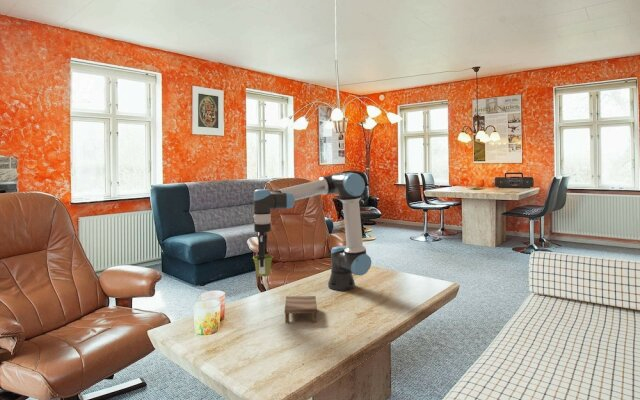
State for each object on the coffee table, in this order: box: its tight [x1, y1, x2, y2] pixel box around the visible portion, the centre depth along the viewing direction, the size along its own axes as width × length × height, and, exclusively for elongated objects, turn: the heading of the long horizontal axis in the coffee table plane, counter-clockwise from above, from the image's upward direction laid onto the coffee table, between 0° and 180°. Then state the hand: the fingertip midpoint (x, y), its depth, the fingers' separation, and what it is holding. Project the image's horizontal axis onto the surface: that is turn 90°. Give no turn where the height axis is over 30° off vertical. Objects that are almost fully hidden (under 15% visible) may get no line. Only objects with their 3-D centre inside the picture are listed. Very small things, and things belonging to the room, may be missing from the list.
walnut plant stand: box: [284, 295, 318, 324], centre depth 182 cm, size 18×14×6 cm
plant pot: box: [252, 254, 274, 277], centre depth 186 cm, size 9×9×9 cm
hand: (263, 270), depth 186 cm, fingers closed on plant pot, 9 cm apart
